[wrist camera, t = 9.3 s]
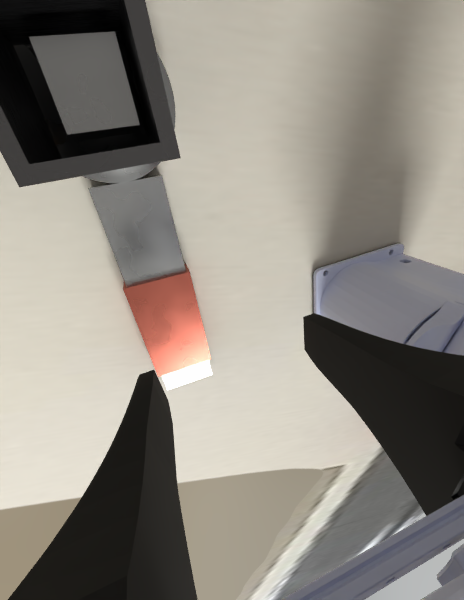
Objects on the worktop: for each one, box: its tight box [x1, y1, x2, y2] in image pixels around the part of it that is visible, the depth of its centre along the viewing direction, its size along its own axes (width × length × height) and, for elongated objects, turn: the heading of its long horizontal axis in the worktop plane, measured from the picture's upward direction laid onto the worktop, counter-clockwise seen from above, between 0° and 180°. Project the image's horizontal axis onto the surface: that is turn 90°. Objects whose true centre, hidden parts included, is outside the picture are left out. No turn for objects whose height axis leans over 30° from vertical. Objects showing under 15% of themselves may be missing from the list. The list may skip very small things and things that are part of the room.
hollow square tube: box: [0, 0, 180, 187], centre depth 10 cm, size 6×6×5 cm
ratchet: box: [14, 32, 212, 390], centre depth 16 cm, size 7×23×5 cm, turn 8°
